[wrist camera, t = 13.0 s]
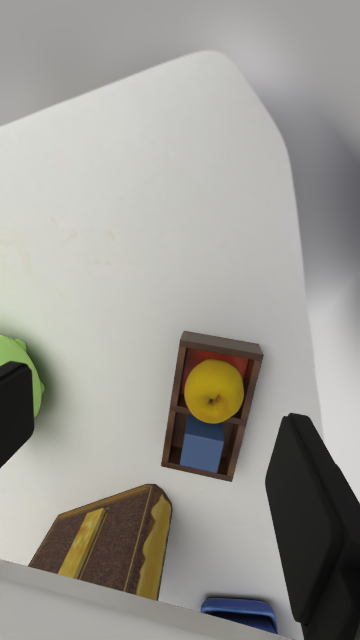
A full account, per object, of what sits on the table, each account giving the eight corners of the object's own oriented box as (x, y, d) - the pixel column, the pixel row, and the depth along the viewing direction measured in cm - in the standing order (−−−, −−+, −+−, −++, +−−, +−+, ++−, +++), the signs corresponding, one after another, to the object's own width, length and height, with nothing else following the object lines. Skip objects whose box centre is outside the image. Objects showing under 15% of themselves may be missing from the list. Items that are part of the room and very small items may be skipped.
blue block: (222, 417, 33) (224, 441, 29) (216, 445, 35) (217, 473, 30) (188, 410, 34) (185, 433, 29) (183, 438, 35) (179, 465, 31)
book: (152, 474, 38) (44, 865, 14) (180, 517, 39) (127, 941, 15) (41, 514, 43) (-181, 850, 19) (69, 551, 44) (-105, 908, 20)
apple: (232, 342, 30) (239, 372, 23) (245, 390, 32) (256, 433, 24) (181, 355, 32) (171, 387, 24) (196, 400, 33) (190, 444, 25)
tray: (183, 330, 31) (180, 339, 28) (258, 343, 31) (263, 354, 27) (165, 447, 36) (160, 466, 33) (230, 461, 35) (231, 482, 32)
